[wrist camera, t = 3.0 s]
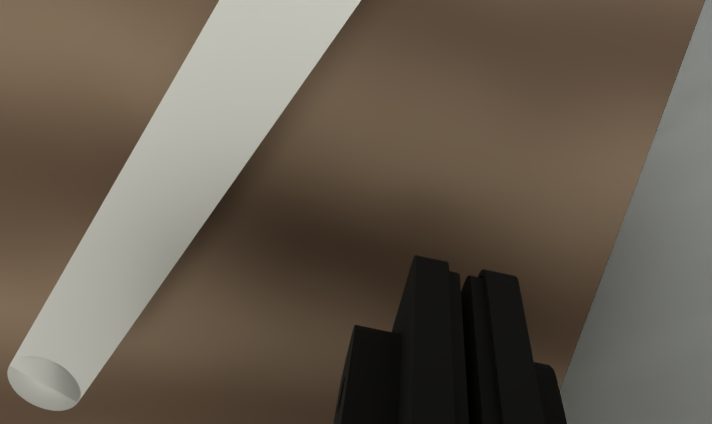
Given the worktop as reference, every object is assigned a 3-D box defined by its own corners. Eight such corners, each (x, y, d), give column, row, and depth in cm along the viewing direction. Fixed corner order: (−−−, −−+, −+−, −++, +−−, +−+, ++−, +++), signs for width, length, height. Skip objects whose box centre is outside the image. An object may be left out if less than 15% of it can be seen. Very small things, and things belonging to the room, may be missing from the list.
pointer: (442, -442, 8) (442, -594, 6) (613, -272, 9) (693, -326, 6) (40, 283, 16) (-50, 380, 13) (150, 346, 17) (88, 453, 14)
